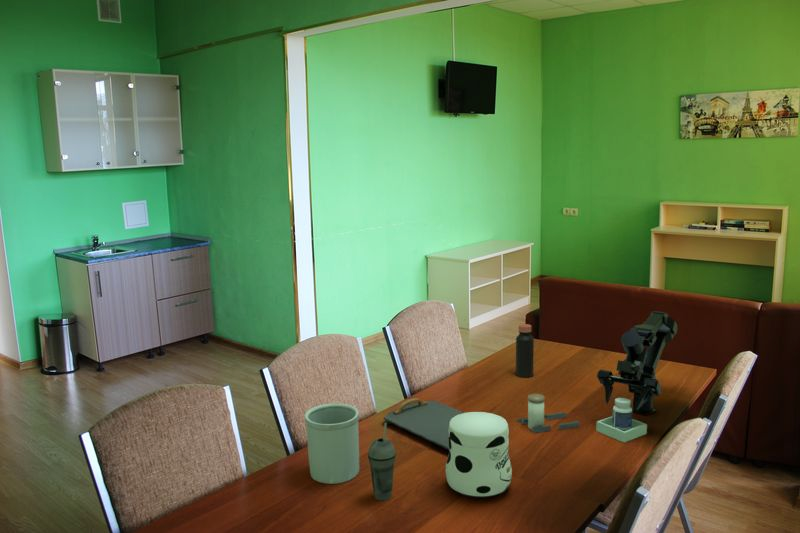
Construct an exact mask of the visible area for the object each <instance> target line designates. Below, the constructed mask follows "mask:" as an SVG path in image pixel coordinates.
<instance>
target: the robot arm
mask: <svg viewBox="0 0 800 533" xmlns="http://www.w3.org/2000/svg"><path fill="white" fill-rule="evenodd" d="M677 333H678V324H677V322H676V320H675V319H674V318H672V317H670V316H669V315H668V313H666V312H664V311H651V313H650V315H649V317H648V318H647V319H646V320H645V321H644V322H643V323H642V324H637V325H634V326H633V327H630V329H629V330H628V331H626V332H624V333H623V334H622V335H621V336H620V342H621V344H622V346H623V348H624V351H625V353H626V357H625V359H623V360H619V359H618V360H617V365H616V371H617V374H618V375H619V376H617V375H614V374H613V372H612V370H606V369H599V370H598V371H597V374H596V377H597V379H598V381H599V383H600V385H602V386H603V387H604V392H605V404H606V405H608V404H609V402H610V399H611V396H612V393H613V390H614V387H613V385H614V383H616V384H617V383H618V384H623V385H626V386H628V393H631V394H633V399H632V406H630V407H631V408H632V412H635V413H637V414H640V415H643V416H647V415H650V414H652V413H656V412H657V408H654V398H655V397H659V396H660V395H661V393H662V392H661V391H662V387H661V384H660V382H659V380H658V379H657V377H656V372H655V371H656V369H657V367H658V364H659V361H660V359H661V355H662V353H663V350H664V348H665V346H666V344H667V343H669V342H671V341H673V338H674V337H675V335H676V334H677ZM646 347H647V349H646Z"/></svg>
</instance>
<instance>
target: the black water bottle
mask: <svg viewBox="0 0 800 533" xmlns="http://www.w3.org/2000/svg"><path fill="white" fill-rule="evenodd" d="M518 333H519V334H518V335H517V336H516V338H515V375H516V377H520V378H532V377H533V376H534V354H535V352H534V349H535V348H534V347H535V346H534V344H535V343H534V341H535V340H534V336H533V335H531V333H532V325H531V324H529V323H528V324H527V323H521V324H519V325H518Z"/></svg>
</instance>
